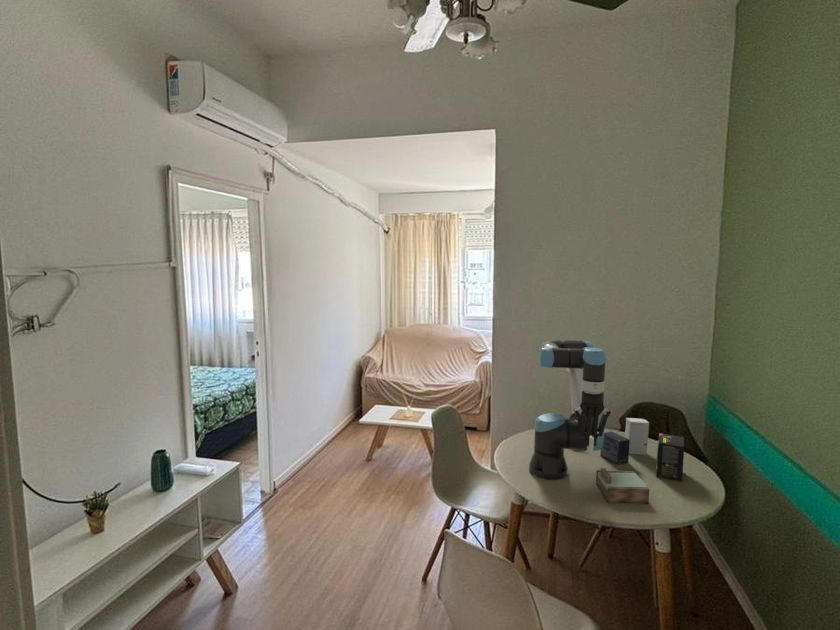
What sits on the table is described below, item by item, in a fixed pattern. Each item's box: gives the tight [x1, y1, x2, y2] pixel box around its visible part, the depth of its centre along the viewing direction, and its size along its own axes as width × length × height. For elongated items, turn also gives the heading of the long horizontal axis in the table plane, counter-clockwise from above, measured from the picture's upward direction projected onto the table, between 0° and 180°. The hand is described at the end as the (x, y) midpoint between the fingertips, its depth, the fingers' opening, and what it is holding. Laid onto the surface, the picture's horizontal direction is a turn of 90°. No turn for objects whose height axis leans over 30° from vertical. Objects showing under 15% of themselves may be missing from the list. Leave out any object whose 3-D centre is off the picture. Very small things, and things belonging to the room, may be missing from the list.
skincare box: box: [624, 417, 650, 456], centre depth 212 cm, size 8×6×15 cm
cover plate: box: [597, 467, 649, 490], centre depth 175 cm, size 14×11×4 cm
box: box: [595, 469, 650, 505], centre depth 176 cm, size 14×14×6 cm
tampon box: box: [655, 432, 685, 482], centre depth 191 cm, size 11×9×15 cm
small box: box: [599, 431, 630, 466], centre depth 205 cm, size 11×6×10 cm, turn 22°
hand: (589, 453), depth 174 cm, fingers closed
